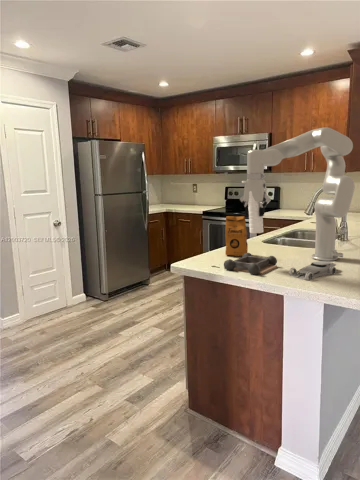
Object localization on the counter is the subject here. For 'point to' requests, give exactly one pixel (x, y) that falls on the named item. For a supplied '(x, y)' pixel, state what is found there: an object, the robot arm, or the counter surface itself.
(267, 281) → the counter surface
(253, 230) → the water bottle
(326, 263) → the car model
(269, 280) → the counter surface
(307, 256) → the counter surface
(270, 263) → the chassis
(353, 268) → the counter surface
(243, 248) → the coffee package
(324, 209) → the robot arm
